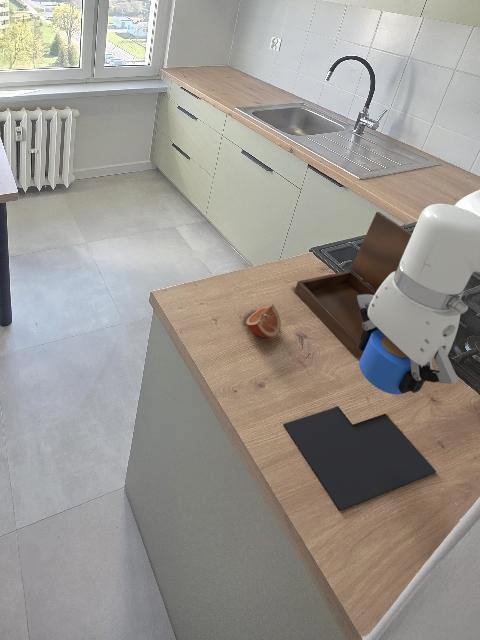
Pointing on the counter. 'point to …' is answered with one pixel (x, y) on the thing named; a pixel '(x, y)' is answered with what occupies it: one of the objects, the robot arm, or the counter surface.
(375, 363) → the tape roll
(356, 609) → the counter surface
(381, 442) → the mat
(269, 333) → the fruit slice
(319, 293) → the chest
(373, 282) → the lid
